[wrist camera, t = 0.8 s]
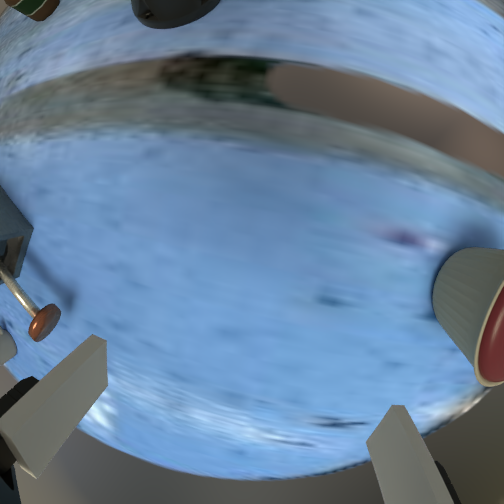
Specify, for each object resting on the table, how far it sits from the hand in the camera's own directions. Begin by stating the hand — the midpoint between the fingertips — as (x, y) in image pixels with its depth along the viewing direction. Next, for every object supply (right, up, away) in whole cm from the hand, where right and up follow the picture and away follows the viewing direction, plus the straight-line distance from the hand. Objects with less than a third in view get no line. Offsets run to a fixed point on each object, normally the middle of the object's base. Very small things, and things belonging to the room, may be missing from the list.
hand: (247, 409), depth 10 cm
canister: (+34, +1, +26) cm, 43 cm away
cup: (-59, -14, +34) cm, 69 cm away
